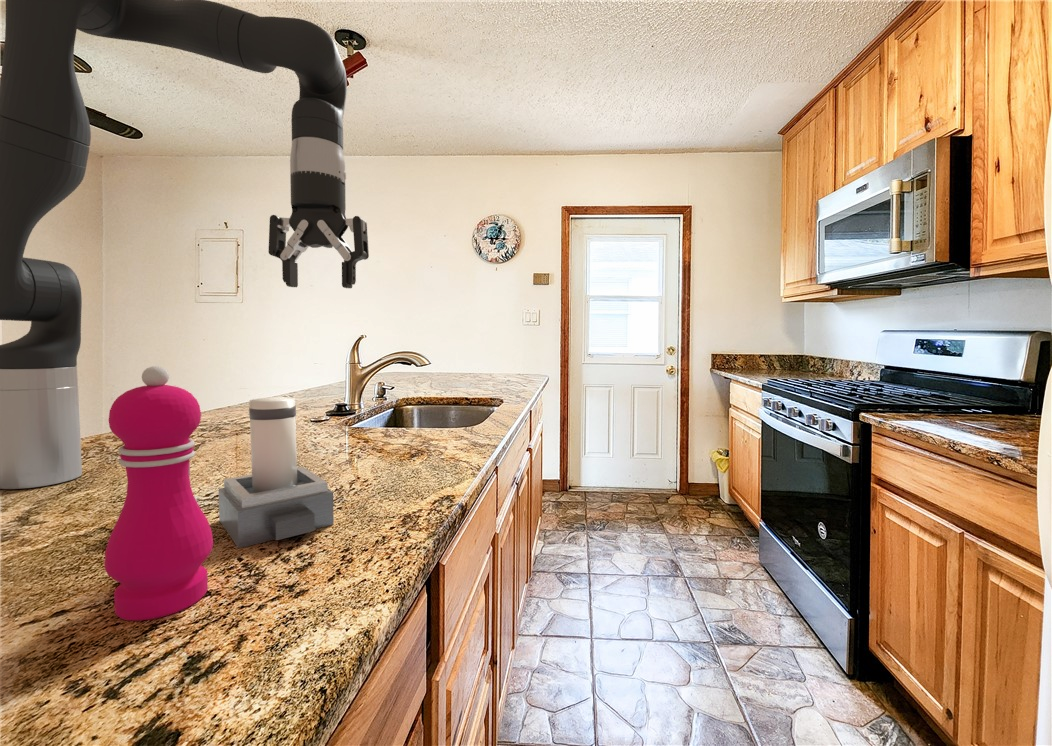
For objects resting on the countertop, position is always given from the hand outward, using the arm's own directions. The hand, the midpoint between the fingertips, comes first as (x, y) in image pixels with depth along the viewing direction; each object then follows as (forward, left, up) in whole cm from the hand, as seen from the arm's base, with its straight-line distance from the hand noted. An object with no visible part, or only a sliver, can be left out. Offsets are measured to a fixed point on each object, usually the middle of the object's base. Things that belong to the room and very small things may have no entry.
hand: (319, 287), depth 71 cm
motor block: (+14, -10, -30) cm, 35 cm away
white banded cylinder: (+13, -10, -26) cm, 31 cm away
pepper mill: (+25, -22, -30) cm, 45 cm away
